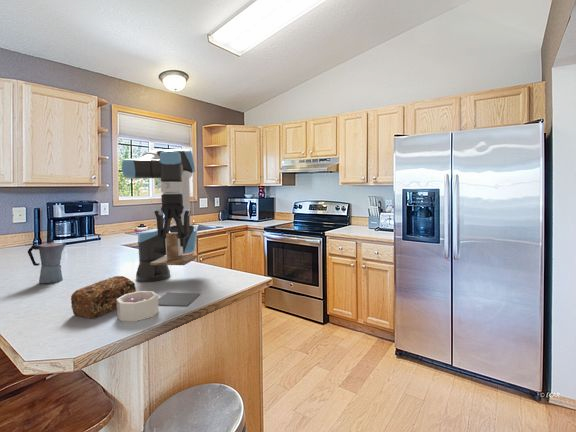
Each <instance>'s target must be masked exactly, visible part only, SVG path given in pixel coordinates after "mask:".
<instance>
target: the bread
mask: <svg viewBox="0 0 576 432" xmlns="http://www.w3.org/2000/svg"><path fill="white" fill-rule="evenodd" d="M133 292H137V289H136V283H135V282H134V281H133V280H131V279H129V278H128V277H125V276H123V275H114V276H112V277H107V278H106V279H103V280H100V281H98V282H95V283H92V284H89V285H87V286H84V287H81V288H78V289H76V290H75V291H73V293H72V294H71V296H70V301H71V302H70V303H71V310H72V313H73V315H74V316H77V317H79V318H80V317H84V318H86V319H90V320H91V319H92V320H93V319H96V318H98V317H102V316H104V315H106V314H108V313H110V312H112V311H115V310H117V300H116V299H118V298H119V297H121V296H123V295H125V294H128V293H133Z"/></svg>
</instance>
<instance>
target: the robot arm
mask: <svg viewBox="0 0 576 432" xmlns="http://www.w3.org/2000/svg"><path fill="white" fill-rule="evenodd" d="M194 161H195V160H194V155H193V152H192V150H190V149H173V148H172V149H170V148H169V149H164V148H163V149H162V148H158V149H154V150H150V151H146V152H144V153H143V154H142V155H141V157H138V158H128V159H127V158H125V159H123V160H122V161H121V171H122V176H123V177H124V178H125V179H132V180H135V179H136V180H137V179H160V192H161V193H162V194H161V197H160V198H161V207H160V209H158V210H155V211H154V212H153V213H154V215H155V217H156V228H152V229H151V228H150V229H147V230H143V231H141V232H139V233H138V237H137V246H138V247H137V248H138V258H139V259H138V260H139V261H138V262H139V263H138V266H137V270H136V274H135V279H136V281H138V282H156V281H161V280H162V281H163V280H166V279H168V278H169V277H170V276H171V270H170V268H169V265H150V262H153V261H155V260H157V259H159V258H162V257H164V256H167V242H166V234H167V233H170V232H178V234H179V238H178V239H177V240H178V256H180V255H188V254H193V253H195V252H196V251H195V250H196V246H197V237H198V230H197V229H195V227H194V224H192V223H191V213H192V211H191V196H190V195H191V193H190V192H191V191H190V179H191V177H193V173H195V172H196V169H195V168H196V167H195V162H194ZM163 215H164V218H163ZM171 221H172V223H171Z"/></svg>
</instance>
